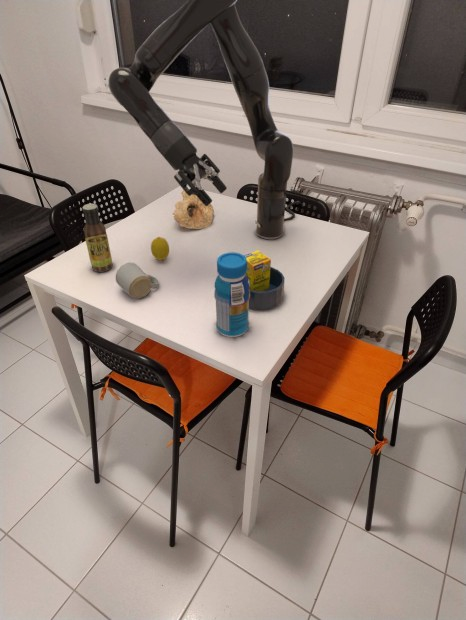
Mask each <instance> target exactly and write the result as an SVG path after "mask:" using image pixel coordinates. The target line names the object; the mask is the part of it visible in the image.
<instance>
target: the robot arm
mask: <svg viewBox="0 0 466 620" xmlns="http://www.w3.org/2000/svg"><path fill="white" fill-rule="evenodd" d="M237 1H238V0H187V1H186V2H185V3H184V4H183V5H181V7H180V8H178V10H176V11H175V12H174V13H173V14H171V15H170V16H169V17H168V18H167V19H166V20H164V21H163V22H162V23H161V24H159V26H158V27H156V29H154V30H153V31H152V33H151V34H150V35H149V36H148V37H147V38H146V39H145V41H144V42H143V43H142V44H141V45H140V46H139V47H138V49H137V50H136V52H135V55H134V61H133V62H132V64H131V65H130V67H129V68H126V67H118V68H115V69H114V70H112V71H111V72H110V74H109V77H108V89H109V92H110V93H111V95H112V96H113V98H114V99H115V100H116V102H117V104H119V105H120V106H122V107H123V108H124V109H125V110H126V112H128V114H129V115H130V116H131V117H132V118H133V119H134V121H135V122H136V124H137V126H138V127H139V128H140V130H141V131H142V132H143V133H144V135H145V136H146V137H147V138H148V139H149V140H150V141H151V143H152V144H153V146H154V147H155V149H156V150H157V151H158V152H159V154H160V155H161V156H162V158H164V160H165V161H166V162H167V163H168V164H169V166H170V167H171V168H172V169H173V170H174V171H177V172H176V173H175V174H174V175H173V179H174V180H175V181H176V182H177V184H178V185H179V187H181V188H182V191H183V190H184V191H185V192H186V193H187V195H188V196H191V195H196V196H197V197H198V198H199V199H200V200H201V201H202V203H203V204H204V205H205V206H208V205H209V204H211V203H212V202H213V199H212V197H210V196H209V194H208V193H207V192H206V191H205V190H204V189H202V184H201V181H202V180H208V181H209V182H211V184H212V185H213V186H214V187H215V189H216V190H217V191H218V192H219V194H223V193H224V192H225V191H227V188H228V187H227V186H226V185H225V183H224V182H223V180H221V178H220V177H219V173H220V172H221V170H220V168H218V166H217V165H216V163H214V161H213V160H212V159H211V158H210V157H209V156H208V155H207V154H206V153H203V154H202V155H201V156H200V157H199V156H198V155H197V152H198V148H197V147H196V146H195V145H194V143H192V141H191V140H190V139H189V138H188V136H187V135H186V134H185V132H183V131H182V129H181V128H180V127H179V126H178V125H177V124H176V123H175V122H174V120H172V119H171V117H170V116H169V115H168V114H167V112H166V111H165V110H164V109H163V108H162V107H161V106H160V105H159V104H158V102H156V101H155V99H154V98H153V96H152V95H151V94H150V91H151V90H152V88H153V87H154V85H155V84H156V82H157V80H158V78H159V77H160V76H161V75H162V74H164V73H165V71H166V70H167V69H168V68H169V67H170V65H172V64H173V62H174V61H175V60H176V59H177V58H178V56H179V55H180V54H181V53H182V52H183V51H184V50H185V49H186V47H188V46H189V44H190V43H191V42H192V41H193V40H194V39H195V38H196V37H197V36H198V35H199V34H200V33H201V32H203V30H204V29H205V28H206V27H207V26H209V25H210V26H211V29H212V31H213V33H214V36H215V38H216V40H217V43H218V46H219V50H220V52H221V55H222V58H223V61H224V63H225V66H226V69H227V71H228V74H229V78H230V80H231V83H232V86H233V89H234V92H235V93H236V96H237V98H238V101H239V104H240V106H241V109H242V111H243V113H244V116H245V118H246V120H247V123H248V125H249V129H250V133H251V138H252V141H253V145H254V149H255V152H256V153H257V156H258V157H259V158H260V159H261V160H263V161H264V169H263V172H262V173H261V174H259V175H258V179H257V203H256V220H255V225H256V230H255V234H256V236H257V237H258V238H261V239H263V240H278V239H280V238H281V237H283V235H284V226H285V225H284V224H285V222H286V221H291V220H292V219H294V218H295V216H296V213H295V212H294V211H293V210H291V209H290V208H291V206H294V205H296V204H298V205H303V203H302V202H301V201H299V200H297V201H293V202H291V203H289V204H288V205H287V206H286V201H287V189H288V182H289V179H290V178H291V174H292V166H293V158H294V144H293V141H292V139H291V138H290V137H289V136H288V135H286V134H284V133H282V132H281V131H280V130H278V127H277V126H276V123H275V121H274V118H273V115H272V111H271V108H270V82H269V77H268V74H267V70H266V68H265V65H264V61H263V58H262V56H261V54H260V52H259V50H258V48H257V46H256V45H255V44H254V42H253V40H252V38H251V37H250V35H249V34H248V33H247V30H246V29H245V27H244V25H243V23H242V21H241V19H240V15H239V13H238V11H237V7H236V2H237ZM286 211H287V212H288V213H290V214H291V216H289V217H287V218H285V212H286Z"/></svg>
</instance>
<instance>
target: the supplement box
mask: <svg viewBox="0 0 466 620" xmlns="http://www.w3.org/2000/svg"><path fill="white" fill-rule="evenodd" d="M243 255H244V256H245V257H246V259H247V272H246V276H247V277H248V279H249V282H250V287H249V289H250V290H253V291H262V292H263V291H269V280H270V267H272V266H271V265H272V259H271V258H270V257H269V256H267V255H266V254H264V253H263V252H261V251H260V250H259V249H258V250H255V251H253V252H249V253H247V254H243Z"/></svg>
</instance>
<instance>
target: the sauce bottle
mask: <svg viewBox="0 0 466 620" xmlns="http://www.w3.org/2000/svg"><path fill="white" fill-rule="evenodd" d="M82 212H83V214H84V218H85V219H84V220H85V225H84V227H83V234H84V240H85V244H86V249H87V252H88V257H89V261H90V264H91V268H92V270H93V271H95V272H98V273H99V272H100V273H101V272H102V273H104V272H106V271H110V270H111V269H112V268H113V257H112V253H111V252H112V251H111V247H110V243H109V238H108V234H107V229H106V225H104V223H103V222H101V218H100V215H99V206H98V205H97V204H96V203H87V204H84V205H83V206H82Z"/></svg>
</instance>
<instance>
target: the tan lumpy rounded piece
mask: <svg viewBox="0 0 466 620" xmlns="http://www.w3.org/2000/svg"><path fill="white" fill-rule="evenodd" d="M180 194H181V195H182V196H181V197H182V199H181V200H179V201H177V202H176V203H175V204H174V208H175V209H174V211H173V213H172V215H173V216H172V217H173V220H175V222H177V223H178V224H179V225H180V228H187V229H190V230H191V229H196V230H199V229H200V230H201V229H202V230H203V229H204V228H207V227H209V226H211V224H212V223H213V218H214V214H215V210H214V206H213V205H212V204H211V203H210V204H209V205H208V206H205V205H204V204H203V203H202V201H201V200H200V199H199V198H198V197H197V196H196V195H191V196H188V195H187V193H186V192H185V191H184V190H183V189H182V191H181V192H180Z"/></svg>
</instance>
